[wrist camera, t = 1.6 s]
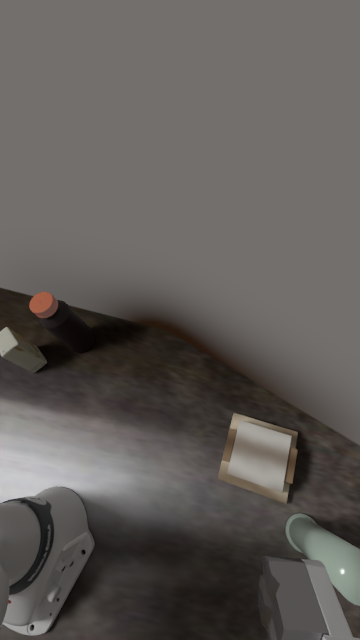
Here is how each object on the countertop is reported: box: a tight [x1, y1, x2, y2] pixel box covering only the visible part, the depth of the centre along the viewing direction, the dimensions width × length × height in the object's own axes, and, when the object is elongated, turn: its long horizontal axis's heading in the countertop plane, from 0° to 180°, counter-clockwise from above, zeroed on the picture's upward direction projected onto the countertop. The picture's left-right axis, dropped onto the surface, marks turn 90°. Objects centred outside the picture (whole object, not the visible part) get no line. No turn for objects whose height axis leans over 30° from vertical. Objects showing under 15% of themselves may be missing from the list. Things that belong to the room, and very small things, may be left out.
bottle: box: [30, 292, 95, 353], centre depth 69 cm, size 7×7×20 cm
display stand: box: [218, 413, 298, 504], centre depth 60 cm, size 13×13×4 cm
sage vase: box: [285, 513, 360, 606], centre depth 43 cm, size 6×6×26 cm
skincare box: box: [0, 327, 47, 373], centre depth 72 cm, size 6×4×12 cm
